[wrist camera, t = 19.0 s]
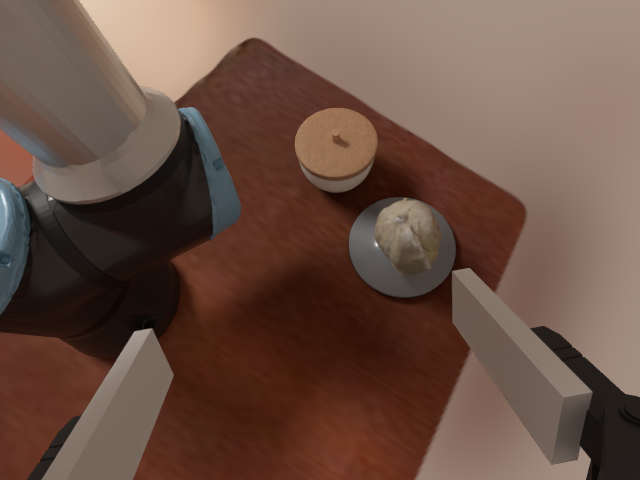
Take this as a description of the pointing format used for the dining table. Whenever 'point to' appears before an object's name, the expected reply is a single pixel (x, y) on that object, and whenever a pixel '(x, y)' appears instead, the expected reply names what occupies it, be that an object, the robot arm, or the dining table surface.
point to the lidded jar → (336, 149)
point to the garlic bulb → (408, 236)
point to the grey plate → (378, 266)
